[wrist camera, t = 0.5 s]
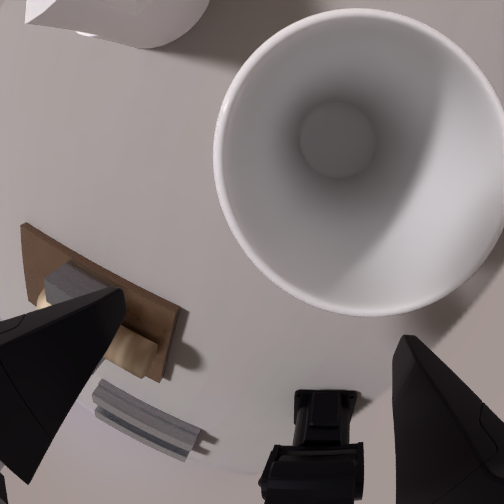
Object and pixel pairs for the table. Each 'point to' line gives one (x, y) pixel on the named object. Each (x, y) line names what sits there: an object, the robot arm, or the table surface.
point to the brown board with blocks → (93, 279)
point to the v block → (144, 421)
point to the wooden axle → (124, 347)
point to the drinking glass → (362, 162)
